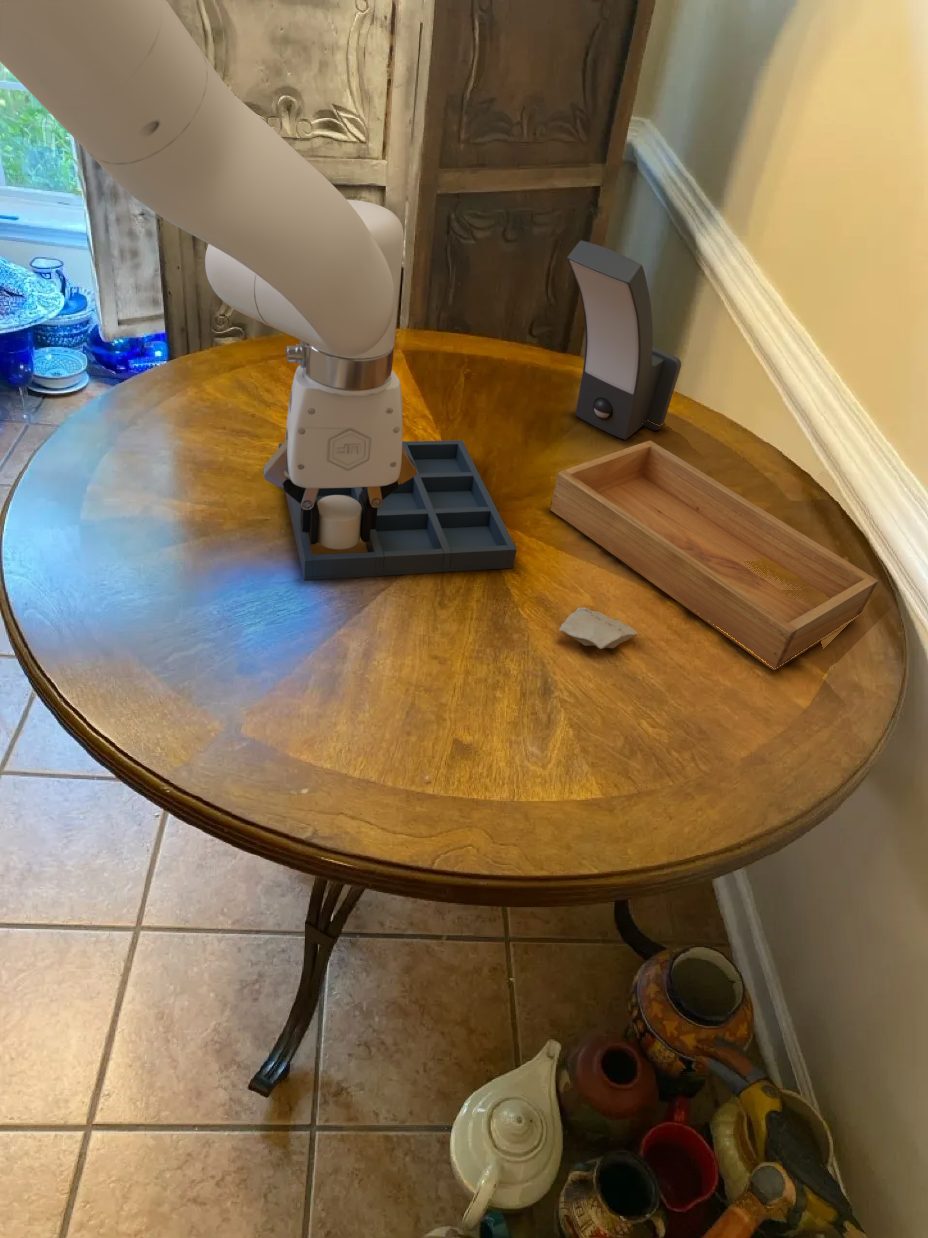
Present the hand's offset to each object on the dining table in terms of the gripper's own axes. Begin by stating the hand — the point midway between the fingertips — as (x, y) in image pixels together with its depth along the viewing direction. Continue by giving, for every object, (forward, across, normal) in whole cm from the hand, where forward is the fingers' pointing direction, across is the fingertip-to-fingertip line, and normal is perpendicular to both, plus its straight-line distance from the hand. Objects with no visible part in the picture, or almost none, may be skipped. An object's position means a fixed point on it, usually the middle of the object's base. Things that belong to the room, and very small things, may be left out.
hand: (337, 533), depth 89 cm
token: (0, 0, 0) cm, 0 cm away
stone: (+3, +22, -15) cm, 27 cm away
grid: (+3, +7, +7) cm, 10 cm away
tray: (+3, +38, -5) cm, 38 cm away
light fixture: (+3, +37, +23) cm, 44 cm away
